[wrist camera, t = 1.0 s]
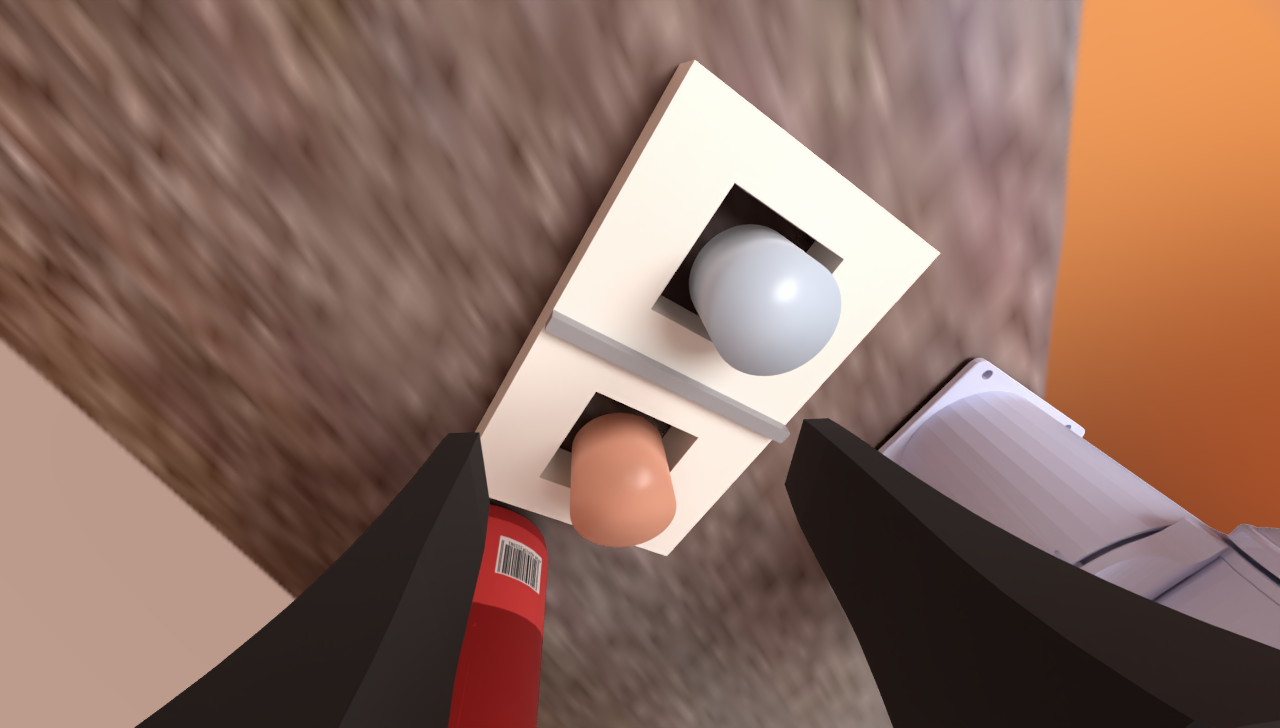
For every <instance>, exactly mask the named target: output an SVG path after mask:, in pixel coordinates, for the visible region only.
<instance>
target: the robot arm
mask: <svg viewBox="0 0 1280 728" xmlns="http://www.w3.org/2000/svg"><path fill="white" fill-rule="evenodd" d="M985 371H986V372H985ZM984 372H985V373H984ZM983 373H984V374H983ZM1084 434H1085V430H1084V428H1082V427H1081V426H1079V425H1078V424H1077V423H1075V422H1074V421H1072V420H1071V419H1070V418H1068V417H1067V416H1065V415H1064V414H1062V413H1061V412H1059V411H1058V410H1057V409H1055V408H1054V407H1052V406H1051V405H1050V404H1048V403H1047V402H1045V401H1044V400H1042V399H1041V398H1040V397H1038V396H1037V395H1035V394H1034V393H1032V392H1031V391H1030V390H1028V389H1027V388H1025V387H1024V386H1022V385H1021V384H1020V383H1018V382H1017V381H1015V380H1014V379H1012V378H1011V377H1010V376H1008V375H1007V374H1005V373H1004V372H1003V371H1001V370H1000V369H998V368H997V367H995V366H994V365H993V364H991V363H990V362H988V361H987V360H985V359H983V358H976V359H974V360H972V361H970V362H969V363H968V364H967V365H966V366H965V367H964V368H963V369H962V370H961V371H960V372H959V373H958V374H957V375H956V376H955V377H954V378H953V379H952V380H951V381H949V382H948V383H947V384H946V385H945V386H944V387H943V388H942V389H941V390H940V391H939V392H938V393H937V394H936V395H935V396H934V397H933V398H932V399H931V400H930V401H929V402H928V403H927V404H926V405H925V406H924V407H922V408H921V409H920V410H919V411H918V412H917V413H916V414H915V415H914V416H913V417H912V418H911V419H910V420H909V421H908V422H907V423H906V424H905V425H904V426H903V427H902V428H901V429H900V430H899V431H898V432H897V433H896V434H894V435H893V436H892V437H891V438H890V439H889V440H888V441H887V442H886V443H885V444H884V445H883V446H882V447H881V448H880V449H879V450H878V451H877V450H876V449H875V448H873V447H872V446H870V445H869V444H867V443H866V442H864V441H863V440H861V439H860V438H858V437H857V436H855V435H854V434H852V433H851V432H849V431H848V430H846V429H845V428H843V427H842V426H840V425H839V424H837V423H835V422H834V421H832V420H830V419H829V418H826V419H804V420H803V423H802V427H801V430H800V434H799V437H798V441H797V444H796V448H795V451H794V454H793V458H792V461H791V465H790V468H789V472H788V475H787V479H786V482H785V486H786V489H787V492H788V495H789V498H790V501H791V504H792V507H793V509H794V512H795V515H796V517H797V520H798V522H799V525H800V527H801V529H802V531H803V533H804V535H805V537H806V539H807V541H808V543H809V545H810V547H811V548H812V550H813V552H814V554H815V556H816V558H817V560H818V562H819V564H820V566H821V568H822V569H823V571H824V573H825V575H826V577H827V579H828V581H829V583H830V585H831V587H832V588H833V590H834V592H835V594H836V596H837V598H838V600H839V602H840V604H841V606H842V607H843V609H844V611H845V613H846V615H847V617H848V619H849V621H850V623H851V625H852V627H853V629H854V632H855V634H856V636H857V638H858V640H859V642H860V645H861V647H862V650H863V652H864V655H865V657H866V659H867V662H868V664H869V667H870V669H871V672H872V674H873V676H874V679H875V681H876V684H877V686H878V689H879V691H880V694H881V696H882V699H883V702H884V704H885V707H886V710H887V712H888V715H889V717H890V720H891V723H892V725H893V728H1280V529H1279V528H1265V527H1261V528H1256V527H1254V526H1252V525H1247V524H1242V525H1239V526H1238V527H1237V528H1236V529H1235V530H1234V531H1233V532H1231V533H1230V534H1229V535H1226V534H1224V533H1221V532H1219V531H1217V530H1215V529H1213V528H1210V527H1209V526H1207V525H1206V524H1205V523H1203V522H1202V521H1200V520H1199V519H1197V518H1196V517H1195V516H1193V515H1192V514H1190V513H1189V512H1187V511H1186V510H1184V509H1183V508H1182V507H1180V506H1179V505H1177V504H1176V503H1175V502H1173V501H1172V500H1170V499H1169V498H1167V497H1166V496H1164V495H1163V494H1162V493H1160V492H1159V491H1157V490H1156V489H1154V488H1153V487H1152V486H1150V485H1149V484H1147V483H1145V482H1144V481H1143V480H1142V479H1140V478H1139V477H1137V476H1136V475H1134V474H1133V473H1132V472H1130V471H1129V470H1127V469H1126V468H1124V467H1123V466H1122V465H1120V464H1119V463H1117V462H1116V461H1114V460H1113V459H1111V458H1110V457H1109V456H1107V455H1106V454H1104V453H1103V452H1102V451H1100V450H1099V449H1097V448H1096V447H1094V446H1093V445H1091V444H1090V443H1089V442H1087V441H1086V440H1084V439H1083V438H1082V437H1083V435H1084ZM489 506H490V499H489V493H488V486H487V479H486V473H485V466H484V459H483V453H482V446H481V439H480V433H479V432H475V433H450V434H448V435H447V436H446V437H445V438H444V439H443V440H442V442H441V443H440V444H439V445H438V447H437V448H436V449H435V450H434V452H433V453H432V454H431V456H430V457H429V458H428V459H427V461H426V462H425V463H424V464H423V466H422V467H421V468H420V469H419V471H418V472H417V473H416V474H415V475H414V477H413V478H412V479H411V480H410V482H409V483H408V484H407V485H406V486H405V487H404V489H403V490H402V491H401V492H400V493H399V494H398V495H397V497H396V498H395V499H394V500H393V501H392V502H391V504H390V505H389V506H388V507H387V508H386V509H385V511H384V512H383V513H382V514H381V515H380V516H379V517H378V518H377V519H376V520H375V521H374V523H373V524H372V525H371V526H370V527H369V528H368V529H367V530H366V531H365V532H364V533H363V534H362V535H361V536H360V537H359V538H358V539H357V540H356V541H355V543H354V544H353V545H352V546H351V547H350V548H349V549H348V550H347V551H346V552H345V553H344V554H343V555H342V556H341V557H340V558H339V559H338V560H337V561H336V562H335V563H334V564H333V565H332V566H331V567H330V568H329V569H328V570H327V571H326V572H325V573H324V574H323V575H321V576H320V577H319V578H318V579H317V580H316V581H315V582H314V583H313V584H312V585H311V586H310V587H309V588H308V589H306V590H305V591H304V592H303V593H302V594H301V595H300V596H299V597H298V598H297V599H296V600H294V601H293V602H292V603H291V604H290V605H289V606H288V607H287V608H286V609H284V610H283V611H282V612H281V613H280V614H278V615H277V616H276V617H275V618H274V619H273V620H271V621H270V622H269V623H268V624H267V625H266V626H264V627H263V628H262V629H261V630H260V631H259V632H257V633H256V634H255V635H254V636H252V637H251V638H250V639H249V640H248V641H246V642H245V643H244V644H243V645H241V646H240V647H239V648H238V649H237V650H235V651H234V652H233V653H232V654H231V655H229V656H228V657H227V658H226V659H224V660H223V661H222V662H221V663H220V664H218V665H217V666H216V667H215V668H213V669H212V670H211V671H209V672H208V673H207V674H206V675H204V676H203V677H202V678H200V679H199V680H198V681H197V682H195V683H194V684H192V685H191V686H190V687H188V688H187V689H186V690H184V691H183V692H182V693H180V694H179V695H178V696H176V697H175V698H174V699H173V700H171V701H170V702H169V703H167V704H166V705H165V706H163V707H162V708H161V709H159V710H158V711H156V712H155V713H154V714H152V715H151V716H150V717H148V718H147V719H145V720H144V721H143V722H142V723H140V724H139V725H137V726H136V727H135V728H448V724H449V717H450V710H451V703H452V696H453V689H454V682H455V677H456V672H457V667H458V662H459V657H460V653H461V648H462V644H463V640H464V636H465V631H466V627H467V623H468V618H469V614H470V610H471V606H472V601H473V597H474V593H475V589H476V584H477V580H478V576H479V571H480V567H481V563H482V558H483V554H484V549H485V542H486V534H487V525H488V516H489Z"/></svg>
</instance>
